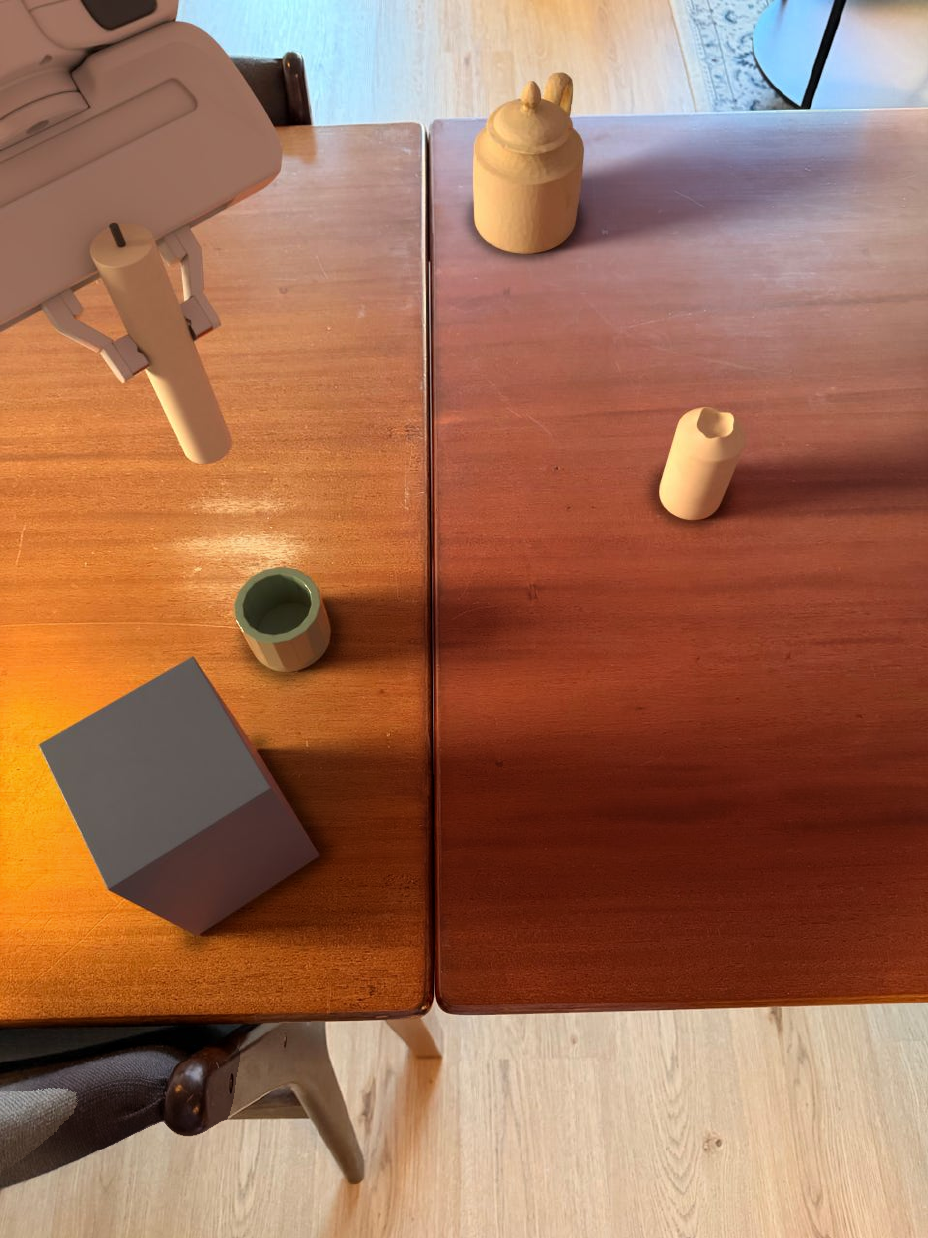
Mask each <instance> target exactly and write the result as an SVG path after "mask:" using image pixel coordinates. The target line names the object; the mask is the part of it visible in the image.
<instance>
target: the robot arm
mask: <svg viewBox="0 0 928 1238" xmlns="http://www.w3.org/2000/svg"><path fill="white" fill-rule="evenodd" d="M179 4H180V0H0V334H1V333H2V332H3V333H4V332H5V331H6V330H8V329H10V328H12V327H14V326H15V325H17V324H19V323H22V322H23V321H25V320H26V319H28V318H30V317H32V316H34V315H35V314H38V313H39V312H41V311H42V312H43V314H44V315H45V316H46V318H47V319H48V320H49V322H50V323H51V325H52V327H53V328H54V329H55V330H56V332H57V333H59V334H61V335H63V336H64V337H67V338H68V339H70V340H71V341H74V342H76V343H77V344H80V345H81V346H84V347H85V348H87V349H89V350H91V351H92V352H94V353H95V354H98V353H99V354H100V355H101V356H102V358H103V360H104V361H105V362H106V364H107V365H108V367H109V368H110V370H111V371H112V372H113V374H114V375H115V377H116V378H117V380H118V381H119V382H121V384H124V383H126V382H128V381H130V380H131V379H133V378H135V377H136V376H138V375H140V374H141V373H143V372H144V371H145V370H146V369H148V368H149V367H150V364H149V362H148V361H147V359H146V357H145V356H144V354H142V353H140V352H138V345H137V344H136V342H135V341H134V340H133V339H132V337H131V336H130V335H129V334H128V333H127V334H125V335H123V336H121V337H119V338H118V339H116V340H114V339H113V338H111V337H109V336H107V335H106V334H104V333H102V332H100V331H99V330H97V329H96V328H94V327H92V326H90V325H88V324H87V323H85V322H83V321H81V320H80V319H81V318H82V315H83V313H84V310H85V308H84V307H83V305H82V304H81V302H80V300H79V299H78V298H77V296H76V295H75V293H76V292H77V291H80V290H81V289H83V288H85V287H86V286H88V285H91V284H93V283H95V282H96V281H97V280H100V279H102V278H101V276H100V274H99V272H98V269H97V267H96V265H95V263H94V261H93V259H92V257H91V254H90V246H91V243H92V241H93V239H94V238H95V237H96V236H97V235H98V234H99V233H100V232H101V231H103V230H105V229H106V228H108V227H109V225H110V224H111V223H117V224H124V223H132V224H138V225H141V226H143V227H145V228H146V229H148V230H149V231H150V232H151V234H152V235H153V238H154V240H155V243H156V245H157V248H158V250H159V253H160V255H161V257H162V258H163V259H164V260H165V262H166V264H167V265H168V267H170V268H173V267H175V266H177V265H179V263H180V270H181V280H182V281H181V282H182V288H183V289H182V290H183V302H181V303H179V304H180V307H181V309H182V312H183V315H184V317H185V320H186V322H187V325H188V327H189V330H190V333H191V335H192V338H193V340H194V342H196V341H197V340H199V339H201V338H202V337H204V336H206V335H208V334H210V333H211V332H213V331H215V330H216V329H218V328H219V327H221V326H222V322H221V319H220V317H219V315H218V314H217V312H216V310H215V308H214V307H213V306H212V304H211V303H210V301H209V299H208V297H207V296H206V294H205V292H204V291H205V279H204V266H203V265H204V262H203V250H202V249H203V248H202V246H201V244H200V242H199V241H198V239H197V237H196V236H195V234H194V231H192V229H193V228H195V227H197V226H198V225H200V224H202V223H204V222H206V221H207V220H209V219H211V218H213V217H215V216H216V215H219V214H220V213H222V212H224V211H226V210H228V209H229V208H232V207H233V206H235V205H237V204H239V203H240V202H243V201H244V200H246V199H248V198H249V197H252V196H253V195H255V194H257V193H259V192H260V191H262V190H264V189H265V188H267V187H268V186H269V185H270V184H271V183H272V182H274V180H275V179H276V178H277V176H279V175H280V173H281V172H282V166H283V154H284V153H283V151H284V149H283V143H282V140H281V138H280V135H279V134H278V132H277V129H276V128H275V126H274V124H273V123H272V121H271V119H270V117H269V115H268V113H267V112H266V111H265V108H264V107H263V105H262V104H261V102H260V101H259V99H258V97H257V96H256V94H255V92H254V91H253V89H252V87H251V86H250V85H249V84H248V82H247V81H246V79H245V78H244V76H243V75H242V73H241V72H240V70H239V69H238V67H237V66H236V64H235V62H234V61H233V60H232V59H231V57H230V56H229V55H228V52H226V50H225V49H224V48H223V47H222V46H221V45H220V44H219V42H218V41H217V40H216V39H215V38H214V37H213V36H212V35H210V34H209V33H208V32H207V31H205V30H204V29H203V28H201V27H199V26H197V25H195V24H193V23H190V22H188V21H187V22H186V21H179V20H177V17H178V12H179V10H178V9H179ZM145 372H146V371H145Z"/></svg>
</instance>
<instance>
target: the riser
mask: <svg viewBox="0 0 928 1238" xmlns="http://www.w3.org/2000/svg"><path fill="white" fill-rule="evenodd" d="M200 665H201V664H199V662H198V661H197V660H196V658H195V657H194V656H190V657H189V658H187V659H185V660H183V661H181V662H180V663H178V664H177V665H175V666H173V667H171V668H169V669H167V670H166V671H164V672H163V673H161V674H159V675H158V676H156V677H154V678H151V680H149V681H146V682H145V683H144V684H141V685H140V686H138V687H137V688H134V689H133V690H131V691H130V692H128V693H126V694H124V695H122V696H121V697H119V698H117V699H116V700H114V701H112V702H110V703H108V704H106V705H105V706H103V707H102V708H101V707H100V708H99V709H98V710H96V711H95V712H93V713H91V714H89V715H87V716H86V717H84V718H82V719H80V720H78V721H77V722H75V723H74V724H72V725H70V726H68V727H66V728H65V729H63V730H61V731H59V732H58V733H56V734H54V735H53V736H50V737H49V738H47V739H46V740H44V741H41V742H40V743H39V744H38V748H39V749H40V752H41V753H42V755H43V758H44V760H45V762H46V764H47V766H48V769H49V770H50V772H51V774H52V777H53V779H54V780H55V783H56V785H57V787H58V789H59V791H60V793H61V795H62V798H63V799H64V802H65V803H66V806H67V809H69V813H70V814H71V816H72V819H73V820H74V822H75V824H76V827H77V829H78V831H79V833H80V835H81V837H82V839H83V841H84V843H85V845H86V848H87V849H88V852H89V854H90V856H91V858H92V860H93V862H94V864H95V867H96V868H97V870H98V872H99V874H100V877H101V879H102V880H103V883H104V885H105V887H106V889H107V891H109V892H111V893H113V894H115V895H117V896H118V897H121V898H122V899H125V900H126V901H128V902H130V903H132V904H135V905H136V906H138V907H140V908H142V909H143V910H146V911H147V912H149V913H151V914H153V915H155V916H157V917H159V918H160V919H162V920H164V921H166V922H169V923H171V924H172V925H174V926H176V927H179V928H180V929H182V930H184V931H186V932H188V933H189V934H192V935H194V936H196V937H198V936H200V935H201V934H203V933H204V932H206V931H207V930H209V929H210V928H212V927H214V926H215V925H217V924H218V923H220V922H221V921H223V920H224V919H226V918H228V917H229V916H230V915H232V914H233V913H235V912H236V911H238V910H239V909H241V908H243V907H244V906H245V905H247V904H249V903H250V902H252V901H253V900H255V899H256V898H258V897H260V896H261V895H263V894H264V893H265V892H267V891H268V890H270V889H271V888H273V887H274V886H276V885H277V884H280V883H281V882H282V881H284V880H285V879H287V878H288V877H290V876H291V875H293V874H295V873H296V872H298V871H299V870H301V869H302V868H303V867H305V866H306V865H308V864H309V863H311V862H313V861H314V860H316V859H317V858H319V857H320V853H319V852H318V850H317V848H316V846H315V845H314V843H313V842H312V840H311V838H310V837H309V835H308V833H307V832H306V830H305V829H304V827H303V825H302V823H301V822H300V819H299V818H298V817H297V815H296V814H295V812H294V810H293V808H292V807H291V805H290V803H289V802H288V800H287V798H286V796H285V794H284V793H283V791H282V790H281V788H280V787H279V785H278V783H277V781H276V779H275V778H274V777H273V775H272V773H271V772H270V770H269V768H268V767H267V764H265V762H264V760H263V758H262V756H261V755H260V754H259V751H258V750H257V748H256V747H255V745H254V744H253V742H252V741H251V739H250V737H249V736H248V734H247V733H246V732H245V730H244V729H243V727H242V726H241V724H240V723H239V722H238V720H237V718H236V717H235V716H234V714H233V713H232V711H231V710H230V708H229V707H228V705H227V703H225V701H224V699H223V698H222V697H221V695H220V694H219V692H218V690H217V689H216V688H215V686H214V685H213V683H212V682H211V680H210V679H209V677H208V676H207V674H206V672H205V671H204V670H203V668H202V667H201V666H200Z"/></svg>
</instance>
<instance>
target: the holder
mask: <svg viewBox="0 0 928 1238" xmlns="http://www.w3.org/2000/svg"><path fill="white" fill-rule="evenodd" d="M233 609H234V610H233V611H234V619H235V622H236V624H237V626H238V628H239V630H240V631H241V633H242V635H243V637H244V639H245V640H246V643H247V645H248V647H249V648H250V649H251V651H252V654H254V656H255V658H256V659H257V660H258V661H259V662H260V664H262V665H263V666H264V667H266V668H268V669H270V670H273V671H277V672H284V673H291V672H297V671H301V670H303V669H306V668H309V667H310V666H311V665H313V664H315V663H316V662H317V661H318V660H320V658H321V657H322V656H323V655H324V653H326V650H327V649H328V647H329V644H330V641H331V635H332V633H331V632H332V631H331V630H332V629H331V625H330V621H329V616H328V613H327V610H326V607H325V603H324V601H323V597H322V594H321V592H320V590H319V587H318V586H317V584H316V582H315V581H314V580H313V578H312V577H311V576H310V575H308V574H306V573H304V572H303V571H301V570H299V569H297V568H292V567H285V566H277V567H272V568H267V569H263V570H261V571H260V572H258V573H255V574H254V575H252V576H251V577H250V578H248V580H246V581H245V583H244V584H243V585H242V587H240V589H238V592H237V595H236V598H235V601H234V603H233Z"/></svg>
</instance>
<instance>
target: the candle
mask: <svg viewBox="0 0 928 1238" xmlns="http://www.w3.org/2000/svg"><path fill="white" fill-rule="evenodd" d="M746 442H747V432H746V429H745V426H744V424H743V423H742V422H741V420H740V419H739V418H738V417H736V416H735V415H734V414H733V413H731V412H729V411H727V410H726V409H723V408H720V407H715V406H701V407H697V408H694V409H692V410H689V411H687V412H686V413H685V414H683V416H682V417H680V419H679V421H678V423H677V426H676V429H675V432H674V436H673V440H672V442H671V447H670V450H669V453H668V457H667V460H666V463H665V467H664V470H663V473H662V477H661V479H660V484H659V499H660V502H661V504H662V506H663V507H664V508H665V509H666V511H668V512H669V513H670V514H672V515H673V516H676V517H678V518H680V519H683V520H686V521H688V520H689V521H700V520H705V519H706V518H709V517H710V516H712V515H713V514H714V513H716V511H717V510H718V509H719V507H720V505H721V503H722V502H723V499H724V497H725V494H726V492H727V489H728V487H729V485H730V482H731V479H732V477H733V475H734V472H735V470H736V467H737V465H738V463H739V459H740V457H741V455H742V453H743V450H744V447H745V445H746Z"/></svg>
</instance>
